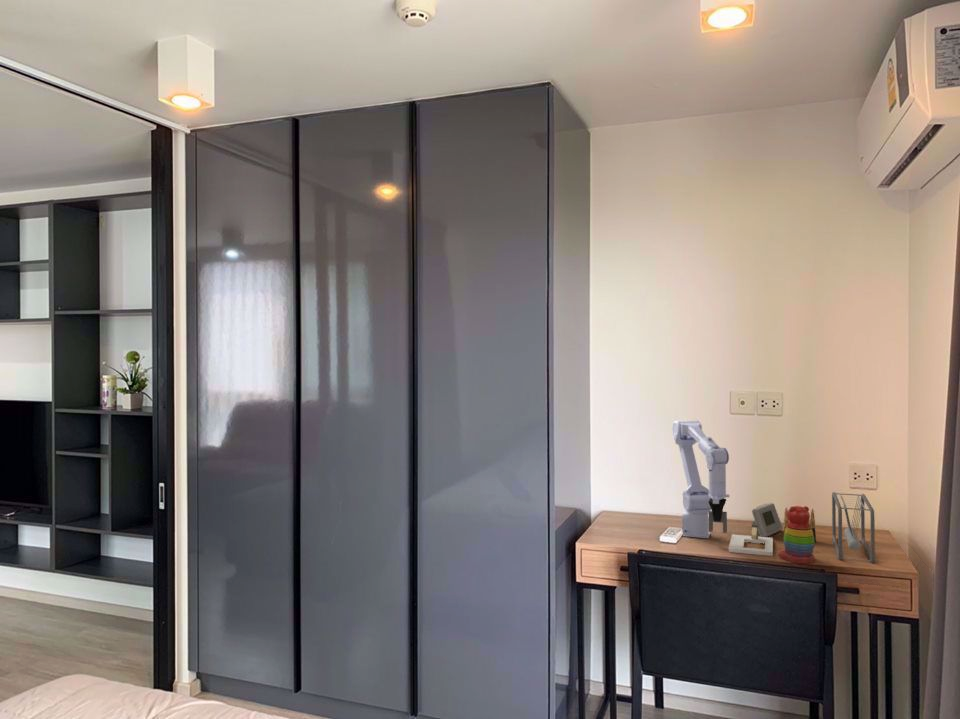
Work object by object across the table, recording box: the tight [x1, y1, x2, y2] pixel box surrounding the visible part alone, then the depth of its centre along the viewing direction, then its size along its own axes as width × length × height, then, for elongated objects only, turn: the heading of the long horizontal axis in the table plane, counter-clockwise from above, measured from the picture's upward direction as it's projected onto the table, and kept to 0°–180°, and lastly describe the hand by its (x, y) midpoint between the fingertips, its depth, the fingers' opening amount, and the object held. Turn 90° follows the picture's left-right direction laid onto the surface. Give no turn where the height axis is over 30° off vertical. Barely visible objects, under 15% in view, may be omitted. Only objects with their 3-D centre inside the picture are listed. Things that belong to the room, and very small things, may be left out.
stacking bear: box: [777, 505, 816, 564], centre depth 231 cm, size 11×10×18 cm
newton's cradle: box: [831, 491, 876, 564], centre depth 240 cm, size 30×10×18 cm, turn 157°
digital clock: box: [751, 502, 783, 538], centre depth 264 cm, size 16×9×11 cm, turn 123°
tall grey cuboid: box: [708, 510, 728, 534], centre depth 247 cm, size 6×2×7 cm, turn 67°
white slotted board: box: [728, 523, 774, 557], centre depth 247 cm, size 14×20×6 cm
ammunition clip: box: [782, 507, 817, 543], centre depth 253 cm, size 11×2×12 cm, turn 74°
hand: (717, 520), depth 247 cm, fingers closed on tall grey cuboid, 2 cm apart
